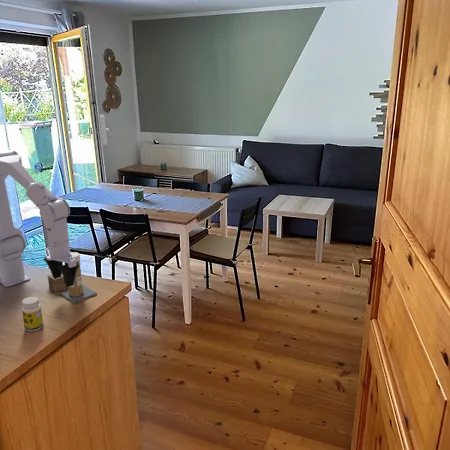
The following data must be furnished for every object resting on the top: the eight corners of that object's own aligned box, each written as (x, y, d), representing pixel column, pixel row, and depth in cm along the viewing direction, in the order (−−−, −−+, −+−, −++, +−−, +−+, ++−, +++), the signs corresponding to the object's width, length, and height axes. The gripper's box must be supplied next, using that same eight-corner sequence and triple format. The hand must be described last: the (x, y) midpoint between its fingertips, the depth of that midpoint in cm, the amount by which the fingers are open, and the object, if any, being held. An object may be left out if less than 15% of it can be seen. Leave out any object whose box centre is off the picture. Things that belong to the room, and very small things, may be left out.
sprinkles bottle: (85, 294, 133) (81, 255, 129) (71, 298, 131) (66, 258, 126) (80, 288, 137) (76, 250, 132) (66, 292, 134) (61, 253, 130)
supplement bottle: (20, 329, 115) (16, 302, 112) (33, 321, 119) (29, 294, 117) (34, 333, 114) (30, 305, 111) (47, 324, 118) (43, 297, 115)
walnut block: (49, 287, 138) (47, 274, 137) (62, 283, 142) (60, 270, 140) (55, 292, 136) (54, 279, 134) (69, 287, 139) (67, 274, 137)
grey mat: (60, 294, 134) (60, 293, 134) (83, 286, 140) (83, 284, 139) (73, 303, 129) (73, 301, 129) (96, 294, 134) (96, 292, 134)
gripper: (33, 237, 126) (39, 278, 131) (57, 250, 117) (63, 294, 122) (56, 231, 131) (61, 271, 136) (80, 243, 122) (85, 285, 127)
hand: (63, 281), depth 129 cm, fingers open, 7 cm apart
